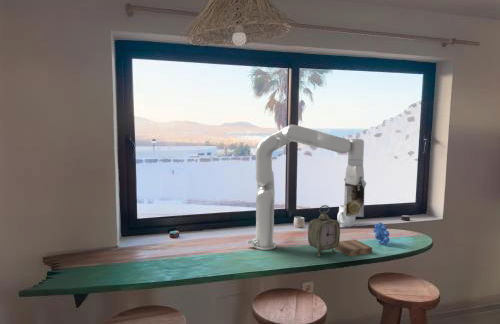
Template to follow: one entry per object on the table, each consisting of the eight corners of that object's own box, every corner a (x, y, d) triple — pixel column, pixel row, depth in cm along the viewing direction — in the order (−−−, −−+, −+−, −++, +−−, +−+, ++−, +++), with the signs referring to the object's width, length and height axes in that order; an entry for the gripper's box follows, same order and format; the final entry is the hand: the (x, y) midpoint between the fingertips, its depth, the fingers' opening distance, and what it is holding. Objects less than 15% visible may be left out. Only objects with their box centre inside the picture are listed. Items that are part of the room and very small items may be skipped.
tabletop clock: (318, 259, 166) (319, 208, 164) (305, 253, 173) (307, 205, 171) (339, 253, 173) (340, 205, 171) (326, 248, 181) (327, 202, 179)
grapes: (367, 241, 194) (368, 221, 193) (377, 240, 196) (378, 220, 195) (382, 248, 183) (383, 226, 182) (392, 246, 185) (393, 225, 185)
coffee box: (360, 214, 180) (362, 184, 179) (363, 217, 174) (365, 186, 173) (343, 213, 181) (344, 183, 180) (345, 216, 175) (346, 185, 174)
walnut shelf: (348, 256, 170) (348, 250, 170) (333, 247, 183) (333, 241, 183) (371, 253, 175) (372, 247, 175) (355, 244, 188) (355, 239, 188)
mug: (344, 229, 219) (345, 209, 218) (331, 225, 228) (331, 206, 227) (358, 226, 227) (359, 206, 226) (345, 222, 236) (346, 204, 235)
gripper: (339, 161, 182) (338, 193, 184) (360, 164, 166) (358, 199, 167) (351, 161, 185) (350, 193, 186) (372, 164, 168) (371, 199, 170)
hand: (354, 196), depth 177 cm, fingers closed on coffee box, 8 cm apart
